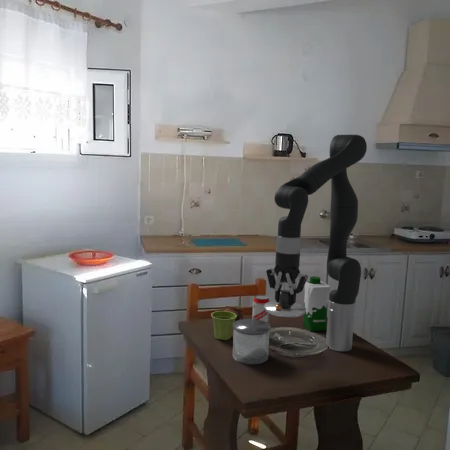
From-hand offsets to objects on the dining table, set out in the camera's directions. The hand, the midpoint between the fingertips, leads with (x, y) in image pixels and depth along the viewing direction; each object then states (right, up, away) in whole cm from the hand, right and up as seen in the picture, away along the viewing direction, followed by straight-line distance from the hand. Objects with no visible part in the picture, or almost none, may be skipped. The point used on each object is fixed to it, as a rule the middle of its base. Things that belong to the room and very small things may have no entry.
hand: (284, 303), depth 154 cm
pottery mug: (-16, -15, +40) cm, 46 cm away
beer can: (-6, -18, +26) cm, 32 cm away
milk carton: (+17, -16, +40) cm, 46 cm away
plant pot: (-20, -17, +26) cm, 37 cm away
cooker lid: (0, -2, 0) cm, 2 cm away
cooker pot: (-10, -20, +10) cm, 24 cm away
